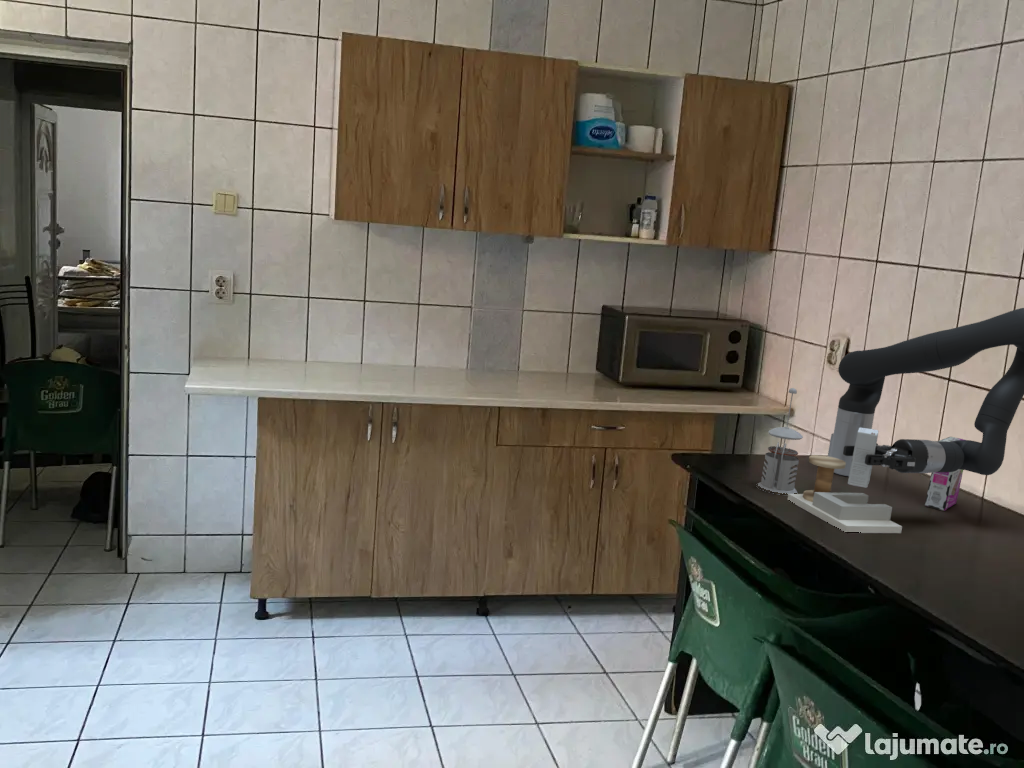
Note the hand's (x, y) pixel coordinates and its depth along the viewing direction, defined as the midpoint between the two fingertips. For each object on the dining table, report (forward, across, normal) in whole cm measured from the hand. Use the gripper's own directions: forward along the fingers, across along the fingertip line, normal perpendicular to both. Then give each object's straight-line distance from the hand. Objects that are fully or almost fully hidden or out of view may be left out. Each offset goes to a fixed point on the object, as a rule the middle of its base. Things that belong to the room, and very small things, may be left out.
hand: (855, 455), depth 202 cm
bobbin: (0, -9, +13) cm, 16 cm away
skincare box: (-2, 0, +7) cm, 7 cm away
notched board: (-1, -2, +15) cm, 15 cm away
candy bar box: (-36, -11, +15) cm, 41 cm away
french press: (+4, -21, +15) cm, 26 cm away
